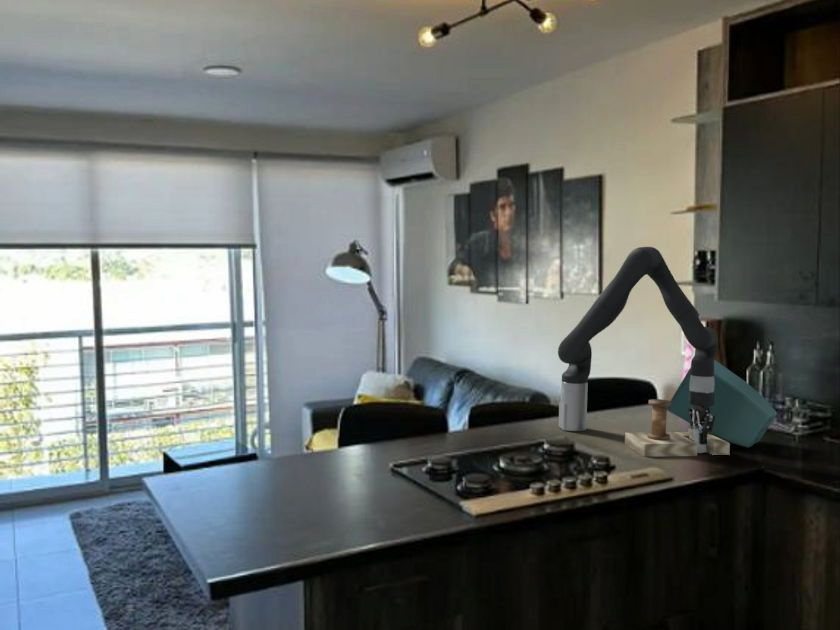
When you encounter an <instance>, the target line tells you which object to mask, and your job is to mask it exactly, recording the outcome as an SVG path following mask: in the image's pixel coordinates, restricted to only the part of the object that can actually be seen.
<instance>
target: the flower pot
mask: <svg viewBox="0 0 840 630" xmlns="http://www.w3.org/2000/svg"><path fill="white" fill-rule="evenodd" d="M690 377H691V367H690V368H689V369H688V371H687V373H686V374H685V375H684V378H683V379H682V381H681V383H680V384H679V385H678V388H677V390H676V391H675V392H674V395H673V396H672V397H671V399H670V401H671V406H669V407H667V411H668V412H669V413H671V414H673V415H675V416H677V417H678V418H680V419H682V420H683V421H685V422H687V423H688V424H690V420H689V414H688V408H693V405H692V404H690V403H689V386H690ZM714 381H715V390H714V405H712V406H710V414H711V415H714V416H715V420H714V424H713V428H712V432H709V434H711V435H713V436H715V437H717V438H720V439H722V440H724V441H726V442H728V443H730V444H734V445H738V446H741V447H745V448H750V447H753V446H754V445H753V444H755V443H756V442H758V441H759V442H760V440H761V439H762V437H763V436H764V434H765V433H766V432H767V430H768V428H769V427H770V426H771V424H772V422H773V421H774V420H775V418H776V416H777V415H778V412H777V411H776V410H775V408H774V407H773V406H772V405H771V404H770V403H769V402H768V400H766V398H765V397H764V396H762V395H761V394H760V393H759V392H758V391H757V390H756V388H753V387H752V386H751V385H750V384H749V383H748V382H746V381H745V380H744V379H742V378H741V377H740V376H738V375H737V374H736V373H734V372H732V371H731V370H729V368H727V367H726V366H724V365H722V364H721V363H720V362H718V361H717V360H716V359H715V360H714ZM703 426H704V425H703ZM759 442H758V443H759ZM756 444H757V443H756ZM756 444H755V445H756Z"/></svg>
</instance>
